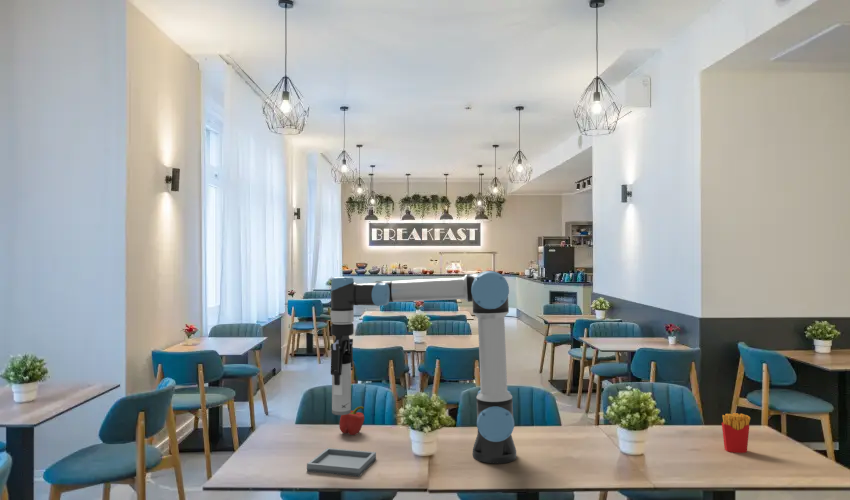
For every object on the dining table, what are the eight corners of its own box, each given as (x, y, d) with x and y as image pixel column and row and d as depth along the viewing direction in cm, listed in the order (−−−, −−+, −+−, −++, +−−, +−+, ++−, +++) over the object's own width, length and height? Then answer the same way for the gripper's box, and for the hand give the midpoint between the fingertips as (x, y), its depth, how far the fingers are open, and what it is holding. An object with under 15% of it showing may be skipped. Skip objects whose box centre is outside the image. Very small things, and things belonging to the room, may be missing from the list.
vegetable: (356, 427, 234) (356, 403, 235) (371, 433, 227) (371, 408, 227) (333, 432, 228) (333, 407, 228) (347, 439, 220) (347, 412, 220)
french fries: (725, 452, 203) (725, 415, 204) (720, 448, 208) (720, 412, 208) (752, 453, 203) (752, 416, 203) (746, 449, 207) (746, 412, 207)
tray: (375, 459, 197) (376, 452, 197) (359, 476, 182) (359, 468, 182) (327, 455, 202) (327, 447, 202) (306, 471, 186) (306, 463, 186)
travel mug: (348, 415, 188) (348, 354, 188) (329, 414, 190) (329, 353, 190) (354, 410, 194) (354, 351, 195) (335, 409, 196) (335, 351, 196)
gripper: (342, 319, 203) (342, 385, 202) (319, 325, 184) (319, 398, 184) (362, 320, 201) (362, 386, 200) (341, 326, 182) (341, 399, 182)
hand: (342, 392), depth 192 cm, fingers closed on travel mug, 6 cm apart
